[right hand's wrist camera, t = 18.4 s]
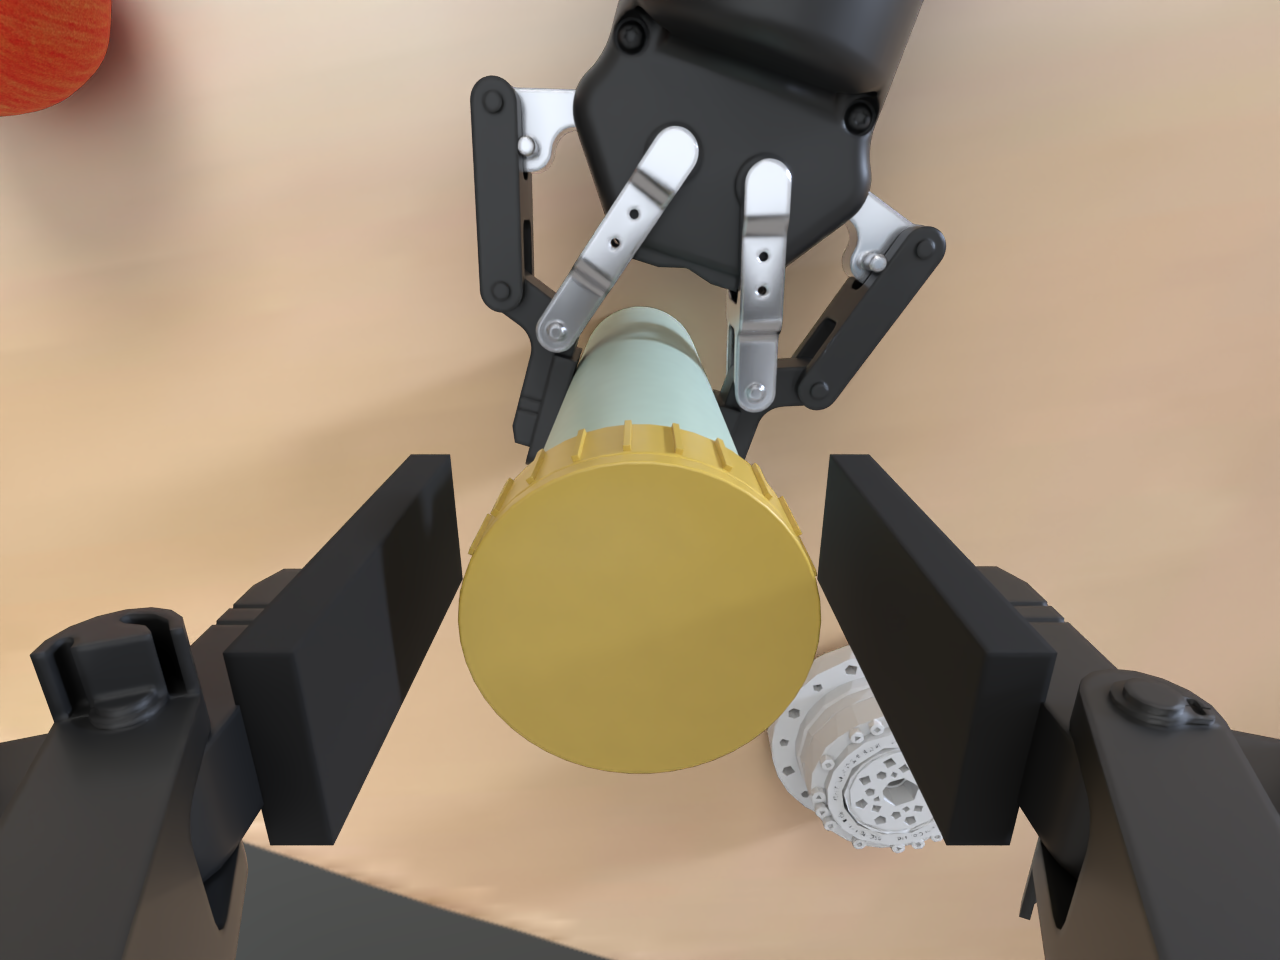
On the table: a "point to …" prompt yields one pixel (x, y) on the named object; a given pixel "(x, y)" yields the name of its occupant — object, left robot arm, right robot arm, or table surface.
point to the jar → (640, 380)
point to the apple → (49, 50)
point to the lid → (639, 601)
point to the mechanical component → (848, 760)
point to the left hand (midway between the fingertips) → (617, 479)
